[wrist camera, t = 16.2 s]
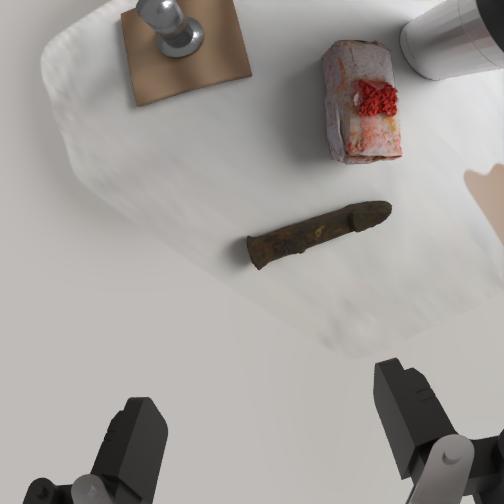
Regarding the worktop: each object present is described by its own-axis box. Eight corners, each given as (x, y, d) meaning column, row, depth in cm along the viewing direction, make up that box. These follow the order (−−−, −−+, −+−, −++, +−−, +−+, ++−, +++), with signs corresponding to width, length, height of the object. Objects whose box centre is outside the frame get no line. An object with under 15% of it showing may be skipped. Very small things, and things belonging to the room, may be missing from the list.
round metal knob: (199, 13, 27) (180, -28, 17) (208, 51, 29) (190, 17, 19) (155, 27, 28) (121, -7, 18) (163, 64, 30) (128, 39, 20)
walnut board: (227, -14, 27) (227, -19, 26) (251, 76, 32) (251, 73, 31) (124, 17, 28) (120, 14, 27) (141, 106, 33) (137, 105, 32)
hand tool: (254, 261, 41) (255, 277, 36) (245, 234, 39) (244, 246, 35) (387, 220, 38) (402, 230, 34) (382, 192, 37) (397, 199, 33)
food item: (382, 157, 35) (420, 164, 26) (323, 161, 36) (347, 169, 26) (368, 55, 30) (401, 35, 21) (308, 56, 31) (326, 30, 22)
